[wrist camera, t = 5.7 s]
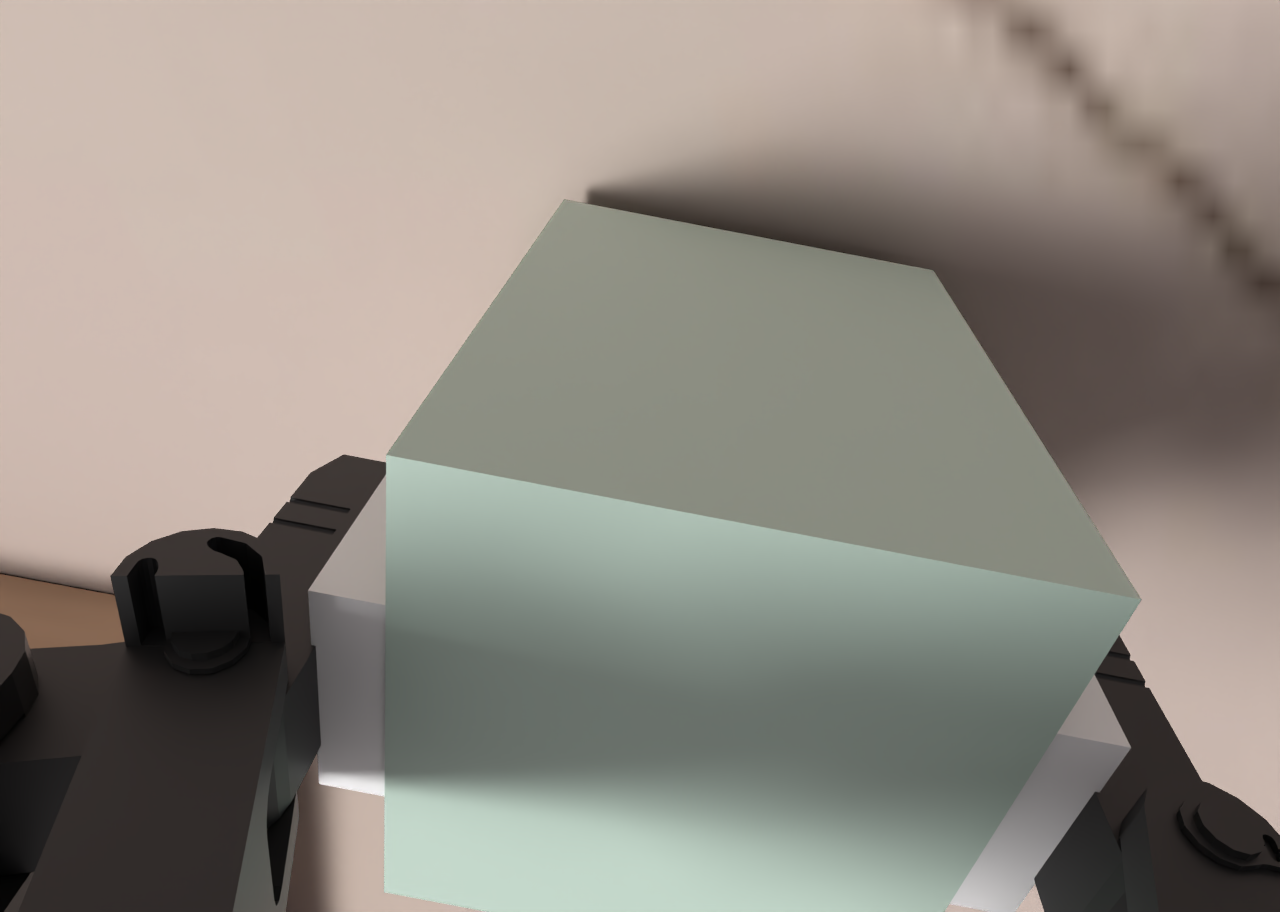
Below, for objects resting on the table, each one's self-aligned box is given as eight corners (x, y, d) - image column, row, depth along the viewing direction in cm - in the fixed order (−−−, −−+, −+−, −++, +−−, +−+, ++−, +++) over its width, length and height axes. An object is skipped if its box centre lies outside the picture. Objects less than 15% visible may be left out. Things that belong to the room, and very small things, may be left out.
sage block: (564, 198, 13) (385, 454, 7) (933, 270, 13) (1141, 599, 7) (529, 503, 16) (384, 892, 10) (828, 561, 16) (894, 989, 10)
